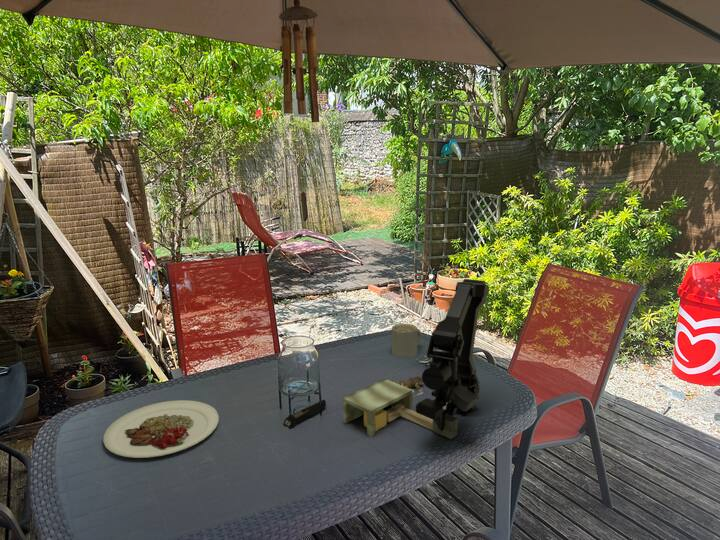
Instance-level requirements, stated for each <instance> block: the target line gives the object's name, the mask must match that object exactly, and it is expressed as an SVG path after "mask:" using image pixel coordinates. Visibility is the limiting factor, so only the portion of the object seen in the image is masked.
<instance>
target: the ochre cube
mask: <svg viewBox="0 0 720 540" xmlns="http://www.w3.org/2000/svg"><path fill="white" fill-rule="evenodd" d="M385 425H386V426H387V421H386V410H385V409H384V408H383V409H381V410H379V411H377V412H375V432H377V431H379V430H381V429H382V427H383V428H384V427H386V426H385ZM363 426H364V427H365V428H367V412H365V411H364V414H363ZM380 428H381V429H380ZM378 429H379V430H378Z"/></svg>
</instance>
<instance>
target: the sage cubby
mask: <svg viewBox="0 0 720 540" xmlns="http://www.w3.org/2000/svg"><path fill="white" fill-rule="evenodd" d="M413 390H414V389H413ZM413 390H412V389H409V388H407V387H404V386H402V385H399V384H397V383H396V382H394V381H391V380H389V379H386V378H383V379H381V380H378V381H377V382H375V383H373V384H371V385H369V386H365V387H364V388H361V389H359V390H357V391H355V392H353V393H351V394H349V395H346V396H344V397H342V413H343V414H342V415H343V416H342V417H343V419H342V421H343V423H344V424H348V423H349V421H350V422H351V421H354V420H355V419H357V418H359V417H361V416H364V411H365V412H367V427H366V428H367V429H366V432H367V433H366V435H368V436H369V437H373V436H375V435H376V431H375V412H377V411H379V410H381V409H383V410H384V408H387V407H388V406H390V407H391V408H392V407H394V406H396V405H397V404H402V405H404V406H405V408H408V409H410V410H412V411H413V397H414V395H413V394H414V392H413ZM358 416H359V417H358ZM347 422H348V423H347Z"/></svg>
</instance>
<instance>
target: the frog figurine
mask: <svg viewBox="0 0 720 540" xmlns="http://www.w3.org/2000/svg"><path fill="white" fill-rule="evenodd" d="M395 383H397V384H399V385H402V386H404V387H407V388H409V389H412V390H413V393H414V392H415V390H416V391H418V392H419V393H418V394H416V395H415V397H417V395H418V396H420V395H422V394H424V391H423V390H424V388H423V387H421V386H420V385H419V384H420V383H423V381H422V376H420V375H417V376H414V377H409V378H408V379H407V380H406V381H404V380H401V379H400V380H398V379H397V380H396V382H395Z"/></svg>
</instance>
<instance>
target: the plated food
mask: <svg viewBox="0 0 720 540" xmlns="http://www.w3.org/2000/svg"><path fill="white" fill-rule="evenodd" d="M219 419H220V416H219V414H218V411H217V410H216V408H214V406H211V405H209V404H207V403H206V402H205V403H204V402H202V401H197V400H186V399H184V400H183V399H182V400H181V399H179V400H169V401H168V400H167V401H161V402H156V403H152V404H148V405H144V406H143V407H142V406H141V407H139V408H136V409H134V410H132V411H129V412H128V413H125V414H123V415H122V416H121V417H119V418H117V419H116V420H115V421H114V422H112V423H111V424H110V425H109V426H108V427H107V429H106V430H105V432H104V434H103V440H102V441H103V444H104V447H105V448H106V449H107V450H108V451H109V452H110V453H113V454H114V455H117V456H121V457H125V458H131V459H132V458H135V459H144V458H147V459H148V458H154V457H162V456H166V455H170V454H174V453H177V452H180V451H184V450H186V449H188V448H191V447H192V446H195V445H197V444H199V443H200V442H201V441H203V440H205V439H206V438H208V437H209V436H210V435H211V434H212V433H213V432H214V431H215V429H217V426H218V425H219Z"/></svg>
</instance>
